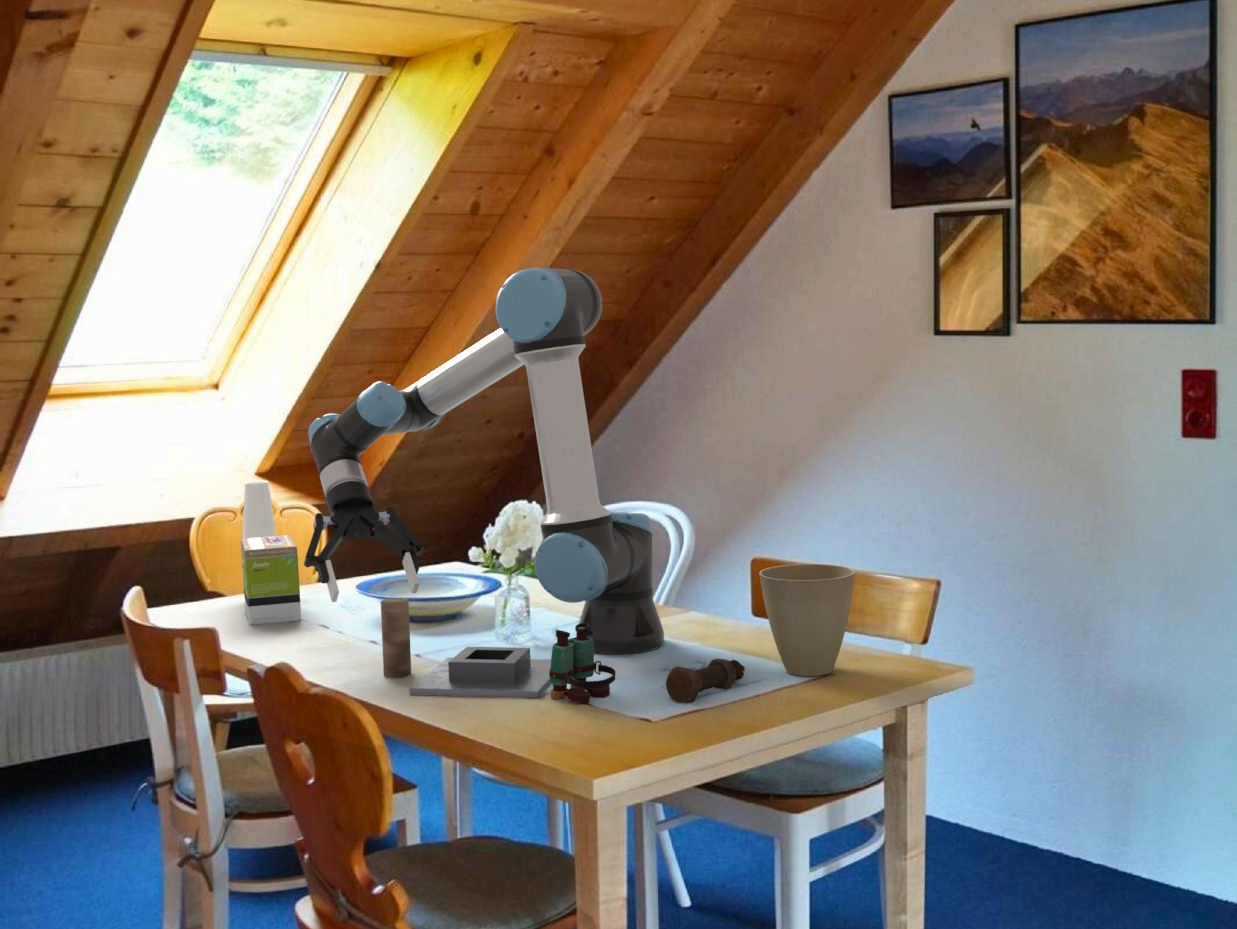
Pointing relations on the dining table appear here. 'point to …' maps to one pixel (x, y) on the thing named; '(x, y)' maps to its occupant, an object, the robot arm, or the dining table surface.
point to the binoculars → (577, 668)
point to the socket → (487, 674)
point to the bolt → (702, 679)
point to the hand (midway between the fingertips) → (376, 593)
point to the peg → (396, 637)
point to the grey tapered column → (258, 510)
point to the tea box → (271, 579)
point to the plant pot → (808, 614)
